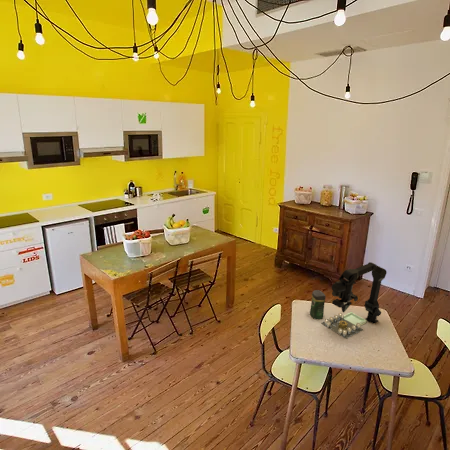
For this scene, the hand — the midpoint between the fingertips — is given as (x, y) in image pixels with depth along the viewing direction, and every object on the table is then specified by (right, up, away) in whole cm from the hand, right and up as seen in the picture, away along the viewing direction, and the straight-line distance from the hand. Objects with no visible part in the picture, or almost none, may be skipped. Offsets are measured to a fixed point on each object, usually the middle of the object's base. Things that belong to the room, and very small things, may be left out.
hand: (343, 312), depth 216 cm
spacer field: (+1, -12, +6) cm, 13 cm away
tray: (+12, -10, +13) cm, 20 cm away
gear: (+2, -11, +6) cm, 13 cm away
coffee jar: (-13, -8, +18) cm, 23 cm away
